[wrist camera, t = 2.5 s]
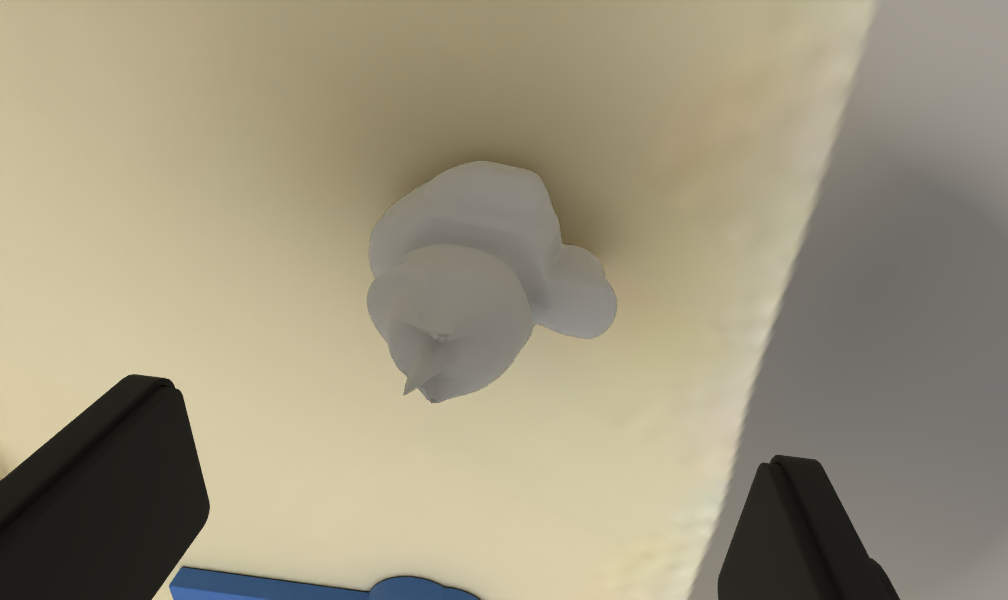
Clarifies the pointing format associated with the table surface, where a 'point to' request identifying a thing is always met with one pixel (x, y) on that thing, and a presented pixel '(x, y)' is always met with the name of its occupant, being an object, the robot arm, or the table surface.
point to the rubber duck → (477, 278)
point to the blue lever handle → (300, 589)
